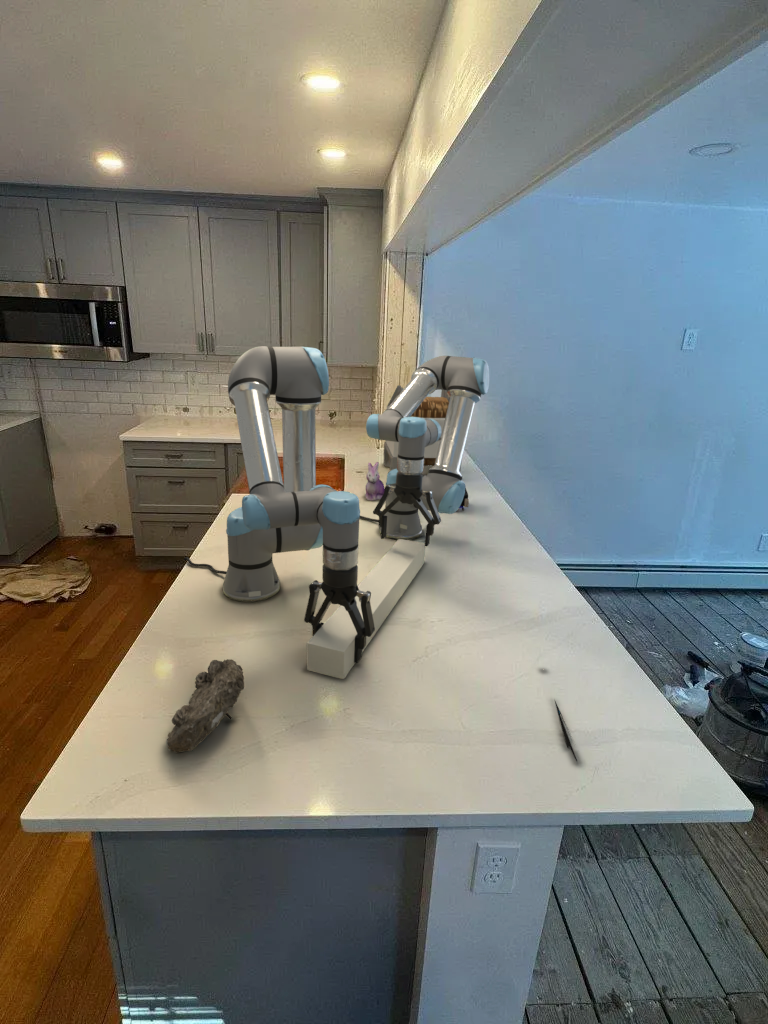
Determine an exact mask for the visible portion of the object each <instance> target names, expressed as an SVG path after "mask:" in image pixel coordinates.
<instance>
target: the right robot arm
mask: <svg viewBox="0 0 768 1024" xmlns="http://www.w3.org/2000/svg"><path fill="white" fill-rule="evenodd" d="M489 388H490V368H489V364H488V362H487V360H485V359H483V358H479V357H475V356H473V357H468V356H454V355H440V356H435V357H433V358H431V359H429V360H426V361H425V362H423V363H422V364H420V365H419V366H418V367H417V368H416V369H415V370H414V371H413V372H412V374H411V377H410V381H409V382H408V383H407V384H406V385H405V386H404V388H403V390H402V391H401V392H400V394H399V395H398V396H397V397H396V398H395V400H394V401H393V402H392V403H391V404H390V405H389V407H388V408H387V407H386V409H385V410H384V411H382V413H381V414H380V413H372V414H370V415H368V417H367V420H366V423H365V430H366V434H367V436H368V437H369V438H370V439H374V440H379V441H384V442H386V441H393V442H398V458H397V469H393V470H391V471H390V470H389V471H388V473H387V475H386V480H385V481H386V482H385V486H384V488H385V490H384V494H383V496H382V497H381V499H379V501H378V503H377V504H376V506H375V508H374V509H373V511H372V514H373V515H376V516H378V519H376V518H370V517H367V516H362V515H360V516H359V519H362V520H365V521H369V522H373V523H377V524H378V533H379V534H380V539H381V540H384V539H385V538H387V539H389V540H395V541H397V540H398V539H404V540H409V541H412V540H415V539H418V538H420V537H421V536H422V535H423V525H422V524H421V518H420V515H419V512H420V513H421V515H422V516H423V518H424V519H425V521H426V523H427V524H426V525H425V537H424V543H425V548H426V547H428V546H429V545H430V542H431V536H433V535H434V533H435V526H436V525H437V526H438V525H439V524H440V523H441V522H442V519H441V518H442V517H441V516H440V514H446V515H452V514H455V513H456V512H457V511H458V510H459V509H460V508H459V507H460V505H461V503H462V501H463V498H464V494H465V487H466V483H465V482H464V480H463V475H462V473H461V474H460V472H459V469H460V465H461V466H462V462H461V461H463V456H464V451H465V447H466V442H467V439H468V434H469V429H470V425H471V421H472V416H473V412H474V409H475V408H474V407H475V404H477V403H479V402H480V401H481V398H482V396H483V395H487V393H488V391H489ZM442 390H447V395H448V397H449V398H450V400H449V405H448V409H447V413H446V418H445V422H444V426H443V430H442V432H441V426H440V425H439V423H438V422H437V421H435V420H433V419H423V418H420V417H411V416H412V414H413V413H414V412H415V411H416V409H417V408H418V407H419V406H420V404H421V403H422V402H423V400H424V399H425V398H426V397H428V396H429V395H432V394H433V393H434V392H436V391H442ZM441 433H442V435H441ZM440 436H441V439H440V443H439V448H438V452H437V456H436V461H435V465H434V466H431V467H430V468H428V471H427V474H423V472H424V466H423V464H424V451H425V447H427V446H429V445H432V444H434V443H435V442H436V441H437V440H439V438H440ZM384 505H385V507H384V508H383V506H384ZM382 508H383V510H382Z"/></svg>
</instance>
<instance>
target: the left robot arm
mask: <svg viewBox="0 0 768 1024" xmlns="http://www.w3.org/2000/svg"><path fill="white" fill-rule="evenodd" d="M326 361H327V360H326V358H325V356H324V354H323V353H322V351H321V350H320V349H319V348H316V347H309V346H267V345H260V346H255V347H252V348H250V349H248V350H246V351H245V352H244V353H242V355H240V356H239V358H237V360H236V361H235V363H234V364H233V366H232V367H231V370H230V373H229V376H228V381H227V394H228V399H229V403H231V405H233V406H234V409H235V414H236V420H237V427H238V433H239V439H240V446H241V451H242V457H243V463H244V469H245V474H246V475H245V476H246V480H247V486H248V493H249V494H246V495H244V496H243V497H242V499H241V506H240V507H237V508H235V509H234V510H232V511H231V512H230V513H229V514H228V515H227V517H226V529H225V532H226V533H225V534H226V536H227V557H228V566H227V570H219V569H215V568H214V566H213V565H211V564H209V563H194V562H193V561H192V560H191V559H190V557H189V556H185V557H184V558H183V561H187V563H188V564H189V565H190V566H193V567H196V568H197V567H199V568H200V567H201V568H202V567H204V568H209V569H210V571H211V572H213V573H215V574H222V575H225V576H224V580H223V585H222V591H223V594H224V596H226V597H227V598H228V599H229V600H230V599H231V600H233V601H237V602H244V603H251V602H252V603H254V602H259V601H260V602H261V601H264V600H267V599H270V598H272V597H273V596H275V595H277V593H279V591H280V588H281V582H280V578H279V575H278V573H277V572H278V571H277V569H276V567H275V565H274V561H273V554H280V553H291V552H300V551H309V550H313V549H320V548H321V547H322V564H323V565H322V577H321V578H322V579H321V580H322V582H320V581H318V579H315V580H313V581H312V582H311V583H310V584H308V590H309V597H308V601H307V605H306V609H305V613H304V619H303V621H304V622H305V623H307V624H311V626H312V627H311V629H312V631H311V633H312V634H311V637H313V636H314V635H315V633H316V632H317V631H318V630H319V629H320V628H321V627H322V625H323V624H324V623H325V622H322V620H323V618H324V616H325V614H326V613H327V611H328V609H329V607H330V606H331V604H332V605H338V606H340V605H341V606H344V607H345V609H346V611H348V613H349V615H350V618H351V620H352V622H353V625H354V627H355V629H356V632H357V635H356V636H355V651H354V663H355V664H358V663H359V662H360V660H361V659H362V656H363V652H362V649H364V647H365V646H366V636H368V637H371V635H372V634H373V632H374V631H375V626H374V621H373V615H372V610H371V604H370V598H371V592H370V591H366V592H363V591H360V590H359V588H358V575H359V566H358V564H359V538H360V537H359V535H360V518H359V516H361V508H360V499H359V497H358V495H357V494H356V493H354V492H353V493H352V492H350V491H345V490H337V489H334V488H333V487H332V486H330V485H328V484H321V483H320V484H317V465H316V463H317V458H316V457H317V455H316V454H317V453H316V450H317V448H316V445H317V442H316V440H317V439H316V434H317V433H316V429H317V428H316V409H317V407H318V406H319V405H321V404H322V396H324V395H327V394H328V392H329V387H330V376H329V370H328V369H329V368H328V365H327V362H326ZM271 396H275V403H276V404H277V405H278V406H279V407H280V408H281V424H282V425H281V429H282V431H281V432H282V470H281V464H280V460H279V459H280V458H279V454H278V449H277V445H276V439H275V435H274V429H273V424H272V419H271V413H270V407H269V403H268V401H269V400H270V397H271ZM283 484H284V485H283ZM321 591H322V592H323V594H324V595H325V598H324V600H323V602H322V604H321V605H320V608H319V609H318V612H316V608H317V603H318V600H319V595H320V592H321ZM356 596H358V597H359V602H361V610H362V615H363V619H362V617H361V614H360V612H359V610H358V607H357V602H356V600H355V597H356ZM349 603H350V604H349ZM315 613H316V615H315ZM366 647H367V646H366ZM364 650H365V649H364Z"/></svg>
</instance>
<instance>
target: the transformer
mask: <svg viewBox="0 0 768 1024" xmlns="http://www.w3.org/2000/svg"><path fill="white" fill-rule="evenodd" d="M403 389H404V388H403V387H402V385H399V384H398V385H397V386H396V388H395V390H394V392H393V394H392V395H391V398H390V400H389V402H388V404H387V405H386V409H387V408H388V407H389V405H390V404H391V403H392V402H393V401H394V400H395V398H396V397H397V396H398V395H399V394H400V392H401V391H402V390H403ZM440 393H441V394H440V396H427V397H426V398H425V399H424V400H423V402H422V403H421V404H420V406H419V407H418V408H417V409H416V411H415V412H414V413H413V414H412V416H411V417H420V418H423V419H433V420H435V421H437V422H438V423H439V425H440V426H441V432H442V430H443V426H444V422H445V418H446V413H447V409H448V405H449V400H450V398H449V397H448V395H447V390H441V392H440ZM441 435H442V433H441ZM440 439H441V436H440V438H439V440H437V441H436V442H435V443H434V444H432V445H429V446H427V447H425V451H424V464H423V467H433V466H434V465H435V461H436V456H437V452H438V448H439V443H440ZM397 458H398V442H393V441H384V442H383V466H384V467H388V468H389V472H390V471H391V470H393V469H397ZM462 461H463V460H462ZM462 461H461V463H462ZM459 472H460V474H461V475H462V473H461V472H462V464H461V465H460V469H459Z"/></svg>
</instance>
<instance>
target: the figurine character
mask: <svg viewBox="0 0 768 1024" xmlns="http://www.w3.org/2000/svg"><path fill="white" fill-rule="evenodd" d="M469 505H470V500H469V492H468V490H467V488H466V487H465V494H464V498H463V501H462V503H461V505H460V507H459V508H458V509H461V511H462V512H464V511H465V508H469Z"/></svg>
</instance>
